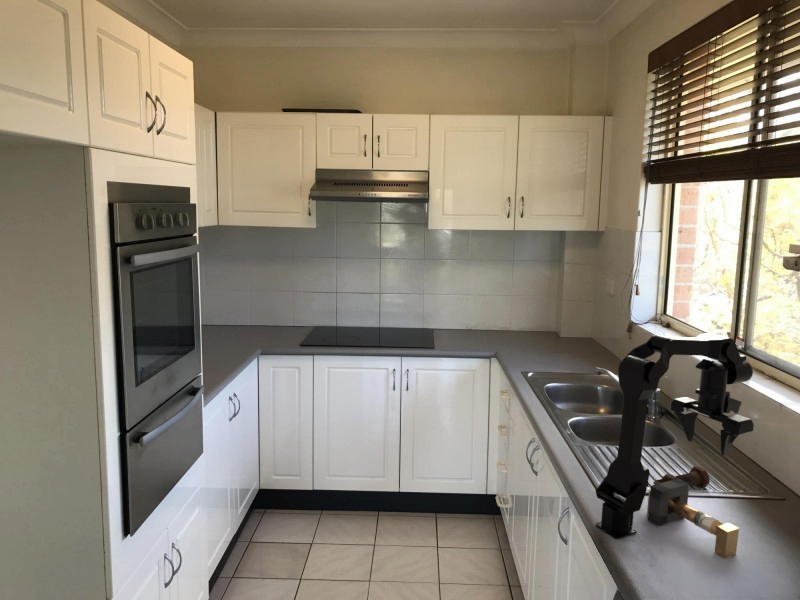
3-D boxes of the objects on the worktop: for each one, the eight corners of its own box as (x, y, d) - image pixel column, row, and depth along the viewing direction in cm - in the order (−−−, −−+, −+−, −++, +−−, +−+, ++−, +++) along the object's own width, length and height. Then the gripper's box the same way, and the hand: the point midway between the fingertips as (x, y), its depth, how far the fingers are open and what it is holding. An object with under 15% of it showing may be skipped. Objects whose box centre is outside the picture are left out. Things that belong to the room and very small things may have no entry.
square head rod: (735, 554, 128) (739, 527, 127) (724, 558, 127) (727, 531, 126) (657, 510, 146) (659, 486, 145) (646, 513, 145) (649, 489, 144)
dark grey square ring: (685, 517, 143) (689, 483, 141) (658, 526, 139) (661, 491, 137) (675, 512, 145) (678, 478, 144) (647, 520, 141) (650, 485, 140)
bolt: (653, 499, 156) (698, 488, 161) (666, 497, 152) (712, 487, 157) (646, 476, 158) (691, 466, 163) (659, 474, 154) (705, 464, 159)
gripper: (772, 393, 140) (764, 457, 143) (701, 372, 157) (695, 429, 159) (740, 399, 135) (733, 465, 138) (671, 377, 152) (666, 436, 155)
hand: (706, 448), depth 148 cm, fingers open, 9 cm apart
